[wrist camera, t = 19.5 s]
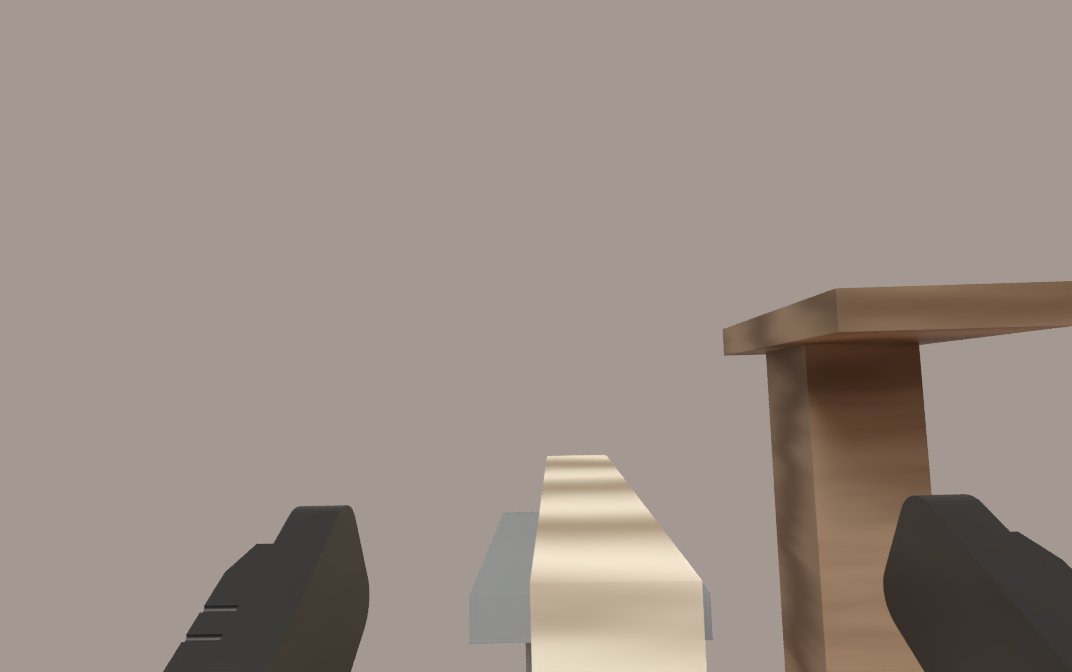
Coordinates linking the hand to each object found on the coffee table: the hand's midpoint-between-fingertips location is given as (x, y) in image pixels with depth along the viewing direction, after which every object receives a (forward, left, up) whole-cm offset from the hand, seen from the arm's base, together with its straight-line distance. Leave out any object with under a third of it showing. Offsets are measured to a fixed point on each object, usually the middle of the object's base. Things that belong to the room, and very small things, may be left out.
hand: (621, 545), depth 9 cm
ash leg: (-3, -15, -4) cm, 16 cm away
